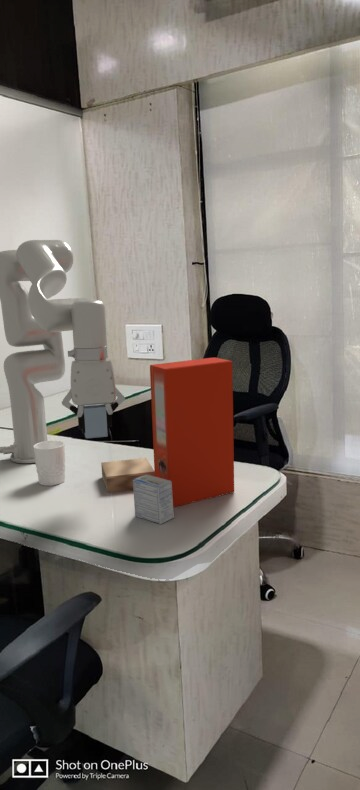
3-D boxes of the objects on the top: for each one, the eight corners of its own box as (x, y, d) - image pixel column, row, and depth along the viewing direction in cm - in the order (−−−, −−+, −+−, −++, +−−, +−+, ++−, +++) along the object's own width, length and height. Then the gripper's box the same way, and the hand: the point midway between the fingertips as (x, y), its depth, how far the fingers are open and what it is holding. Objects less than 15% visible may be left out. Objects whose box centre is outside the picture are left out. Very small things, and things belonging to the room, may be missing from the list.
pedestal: (107, 492, 150) (106, 476, 149) (102, 477, 161) (101, 462, 161) (155, 486, 153) (154, 471, 152) (146, 472, 164) (146, 457, 163)
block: (86, 438, 141) (84, 408, 139) (84, 433, 145) (82, 404, 144) (107, 436, 142) (105, 406, 141) (105, 431, 147) (103, 403, 145)
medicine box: (174, 518, 133) (172, 480, 131) (160, 525, 129) (158, 486, 128) (148, 510, 138) (146, 473, 136) (134, 516, 135) (132, 479, 133)
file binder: (235, 492, 146) (232, 360, 140) (171, 508, 138) (165, 368, 132) (217, 483, 153) (213, 357, 147) (155, 497, 145) (149, 364, 139)
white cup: (33, 480, 161) (30, 443, 159) (62, 474, 165) (59, 439, 163) (41, 488, 154) (37, 450, 152) (71, 483, 158) (68, 445, 156)
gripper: (53, 359, 134) (59, 438, 138) (130, 354, 138) (133, 432, 142) (52, 354, 142) (58, 430, 145) (125, 350, 145) (129, 424, 149)
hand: (95, 430), depth 144 cm, fingers closed on block, 5 cm apart
